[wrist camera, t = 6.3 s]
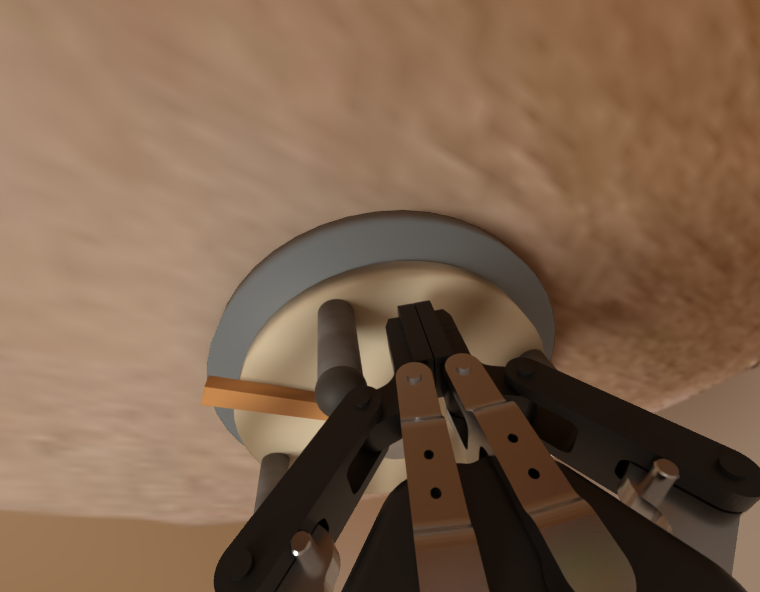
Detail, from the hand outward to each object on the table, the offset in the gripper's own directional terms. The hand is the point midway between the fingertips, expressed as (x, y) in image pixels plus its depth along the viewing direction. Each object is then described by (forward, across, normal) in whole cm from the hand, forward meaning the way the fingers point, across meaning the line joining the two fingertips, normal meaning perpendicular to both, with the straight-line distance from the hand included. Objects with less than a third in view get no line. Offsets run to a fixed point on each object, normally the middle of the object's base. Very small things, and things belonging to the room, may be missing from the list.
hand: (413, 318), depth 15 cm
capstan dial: (+4, +2, +9) cm, 10 cm away
